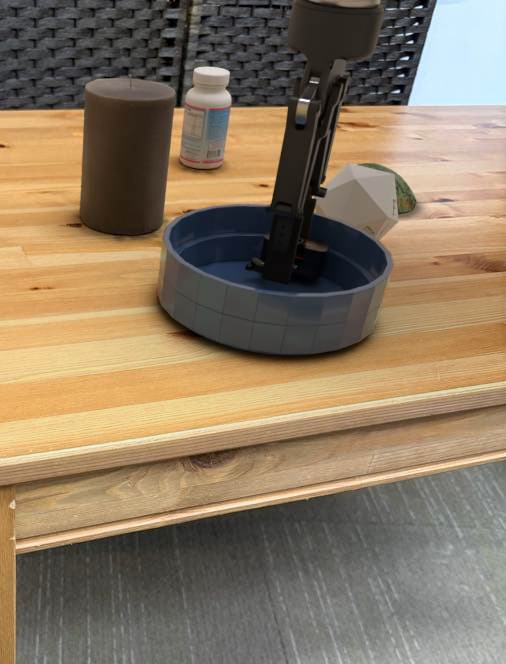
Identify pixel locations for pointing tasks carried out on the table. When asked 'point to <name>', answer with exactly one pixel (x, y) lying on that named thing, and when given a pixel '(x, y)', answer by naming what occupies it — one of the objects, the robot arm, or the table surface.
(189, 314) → the bowl
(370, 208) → the die
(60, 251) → the table surface
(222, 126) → the pill bottle
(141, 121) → the pillar candle
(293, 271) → the wireless earbuds
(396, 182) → the seashell
